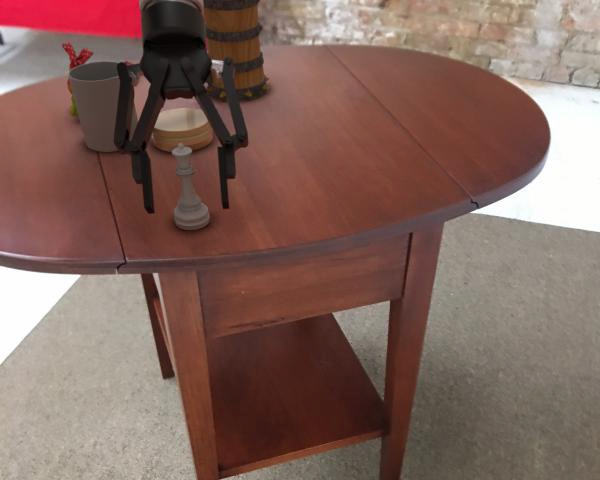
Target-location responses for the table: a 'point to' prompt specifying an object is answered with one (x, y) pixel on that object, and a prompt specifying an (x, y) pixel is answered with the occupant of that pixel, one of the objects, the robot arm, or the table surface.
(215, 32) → the mug
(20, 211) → the table surface
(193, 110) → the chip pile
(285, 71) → the table surface
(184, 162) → the chess piece
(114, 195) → the table surface
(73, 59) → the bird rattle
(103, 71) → the cup
